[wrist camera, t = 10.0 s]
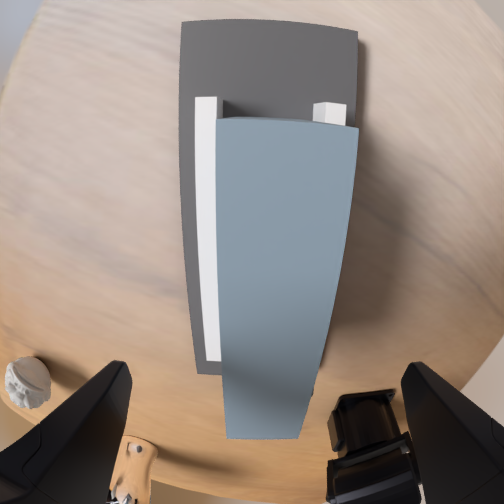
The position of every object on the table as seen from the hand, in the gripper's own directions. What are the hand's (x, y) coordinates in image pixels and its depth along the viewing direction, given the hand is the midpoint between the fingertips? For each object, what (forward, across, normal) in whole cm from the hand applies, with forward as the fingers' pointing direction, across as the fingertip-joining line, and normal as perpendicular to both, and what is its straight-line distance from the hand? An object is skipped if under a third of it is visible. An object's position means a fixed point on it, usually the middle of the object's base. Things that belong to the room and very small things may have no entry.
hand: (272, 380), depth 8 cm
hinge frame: (+12, 0, 0) cm, 13 cm away
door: (+11, 0, 0) cm, 11 cm away
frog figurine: (+13, +25, +17) cm, 33 cm away
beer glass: (+13, +16, +33) cm, 39 cm away
